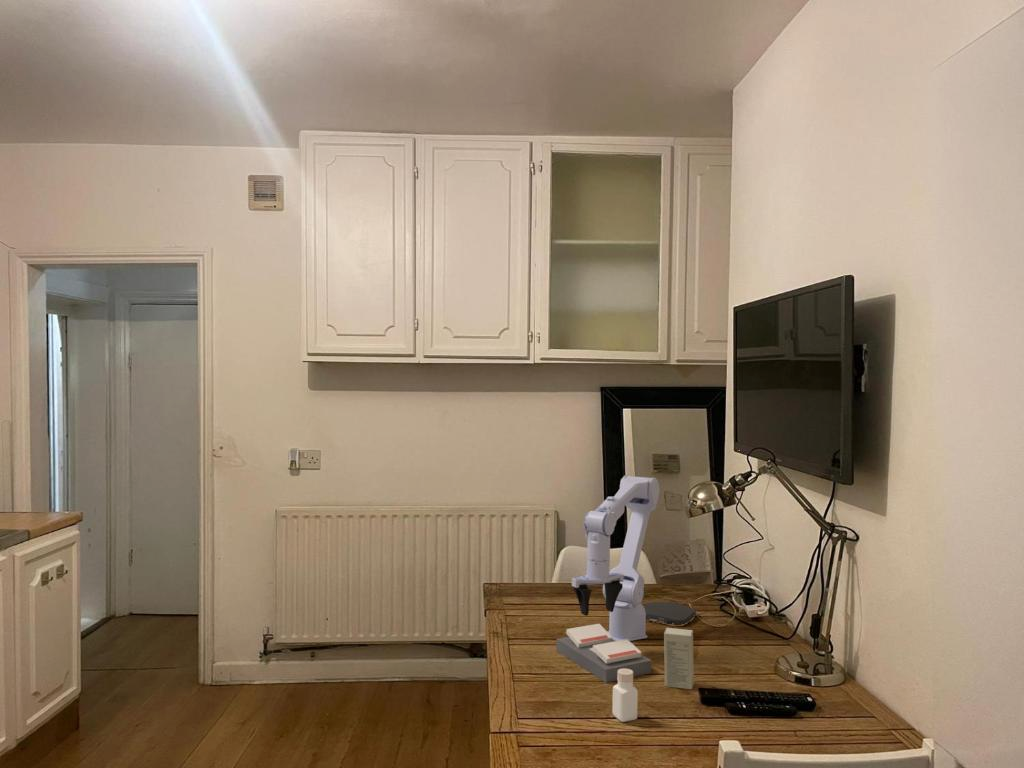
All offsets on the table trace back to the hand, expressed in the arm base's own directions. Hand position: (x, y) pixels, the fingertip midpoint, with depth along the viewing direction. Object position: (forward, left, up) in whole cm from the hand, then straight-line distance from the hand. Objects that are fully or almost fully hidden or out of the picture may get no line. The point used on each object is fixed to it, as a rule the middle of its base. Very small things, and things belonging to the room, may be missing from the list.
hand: (597, 612), depth 184 cm
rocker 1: (+2, -1, -6) cm, 7 cm away
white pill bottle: (+15, +32, -11) cm, 37 cm away
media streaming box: (-35, -15, -11) cm, 40 cm away
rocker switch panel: (+2, +5, -10) cm, 12 cm away
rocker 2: (+2, +11, -6) cm, 13 cm away
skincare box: (-6, +24, -11) cm, 27 cm away
